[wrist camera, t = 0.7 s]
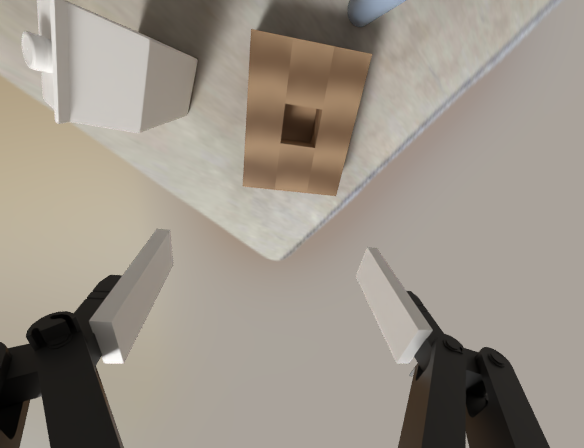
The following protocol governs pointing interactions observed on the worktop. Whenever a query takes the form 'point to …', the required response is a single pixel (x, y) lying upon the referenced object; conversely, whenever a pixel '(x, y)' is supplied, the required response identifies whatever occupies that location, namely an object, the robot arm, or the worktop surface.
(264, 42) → the bore block
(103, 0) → the worktop surface
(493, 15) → the worktop surface
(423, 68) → the worktop surface
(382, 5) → the pin
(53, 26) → the milk carton
